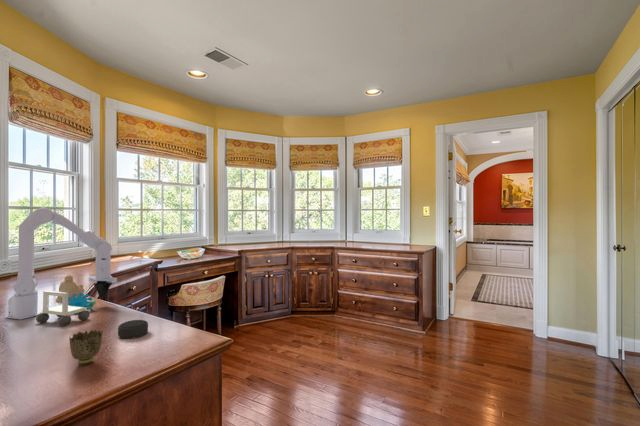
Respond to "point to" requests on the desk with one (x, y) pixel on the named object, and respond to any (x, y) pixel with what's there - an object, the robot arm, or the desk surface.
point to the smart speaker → (132, 329)
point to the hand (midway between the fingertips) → (102, 298)
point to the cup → (85, 346)
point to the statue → (69, 288)
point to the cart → (60, 309)
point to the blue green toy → (81, 301)
